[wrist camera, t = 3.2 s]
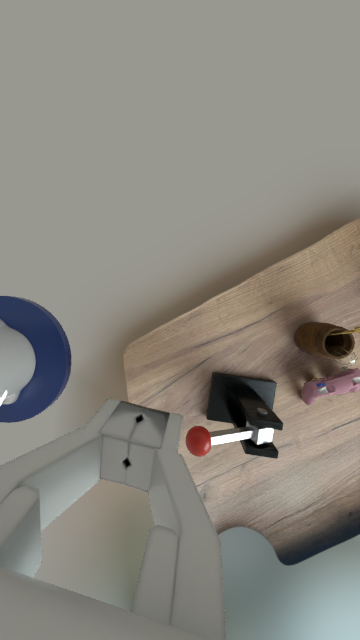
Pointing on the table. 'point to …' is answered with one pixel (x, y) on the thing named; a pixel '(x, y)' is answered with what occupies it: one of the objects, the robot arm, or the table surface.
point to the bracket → (245, 407)
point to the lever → (224, 437)
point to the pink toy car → (331, 385)
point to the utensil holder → (326, 340)
